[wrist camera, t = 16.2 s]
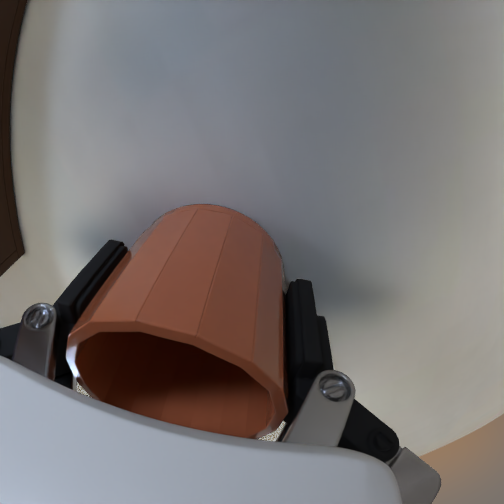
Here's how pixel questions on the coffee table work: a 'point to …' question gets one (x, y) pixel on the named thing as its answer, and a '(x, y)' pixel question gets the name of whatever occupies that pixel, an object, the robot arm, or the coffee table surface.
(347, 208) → the coffee table surface
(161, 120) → the coffee table surface
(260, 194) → the coffee table surface
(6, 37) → the tray
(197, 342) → the tea cup
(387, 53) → the coffee table surface
